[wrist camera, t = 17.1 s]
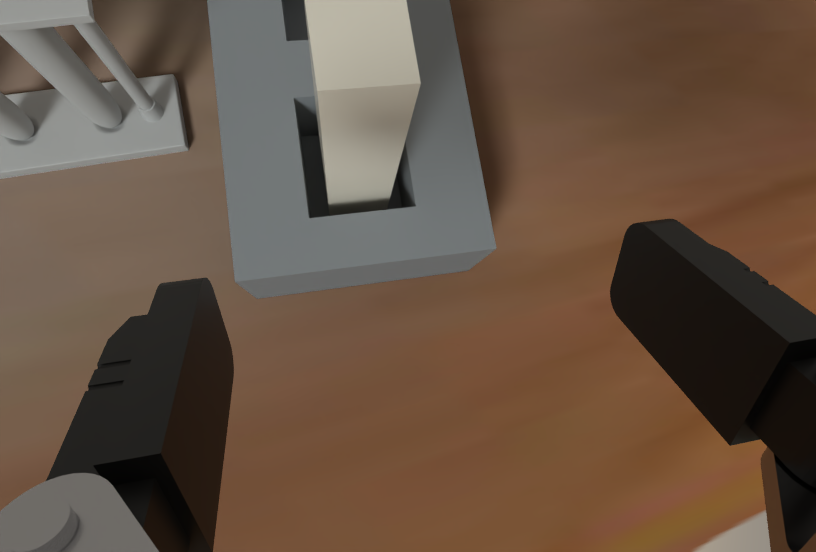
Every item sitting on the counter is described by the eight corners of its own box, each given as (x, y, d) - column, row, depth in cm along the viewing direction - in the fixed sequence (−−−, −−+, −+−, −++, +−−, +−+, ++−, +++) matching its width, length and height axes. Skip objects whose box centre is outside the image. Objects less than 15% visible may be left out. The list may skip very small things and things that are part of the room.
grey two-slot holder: (257, 298, 27) (234, 281, 21) (223, -22, 30) (196, -107, 25) (467, 270, 29) (496, 248, 23) (414, -29, 32) (428, -110, 26)
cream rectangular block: (330, 222, 26) (317, 91, 14) (320, 153, 27) (300, -33, 14) (384, 216, 27) (420, 83, 14) (374, 148, 28) (399, -37, 15)
